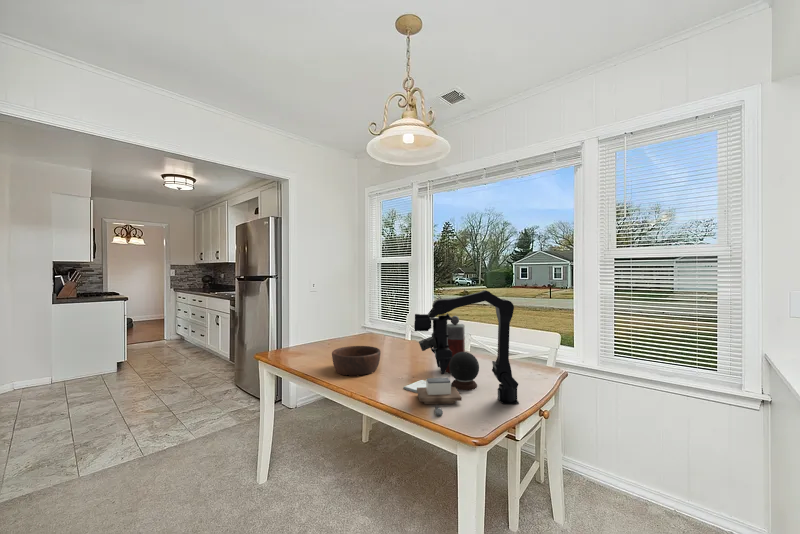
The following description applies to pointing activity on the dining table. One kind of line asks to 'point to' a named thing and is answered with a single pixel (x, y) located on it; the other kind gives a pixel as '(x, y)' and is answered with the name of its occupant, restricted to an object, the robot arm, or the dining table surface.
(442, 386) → the block
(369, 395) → the dining table surface
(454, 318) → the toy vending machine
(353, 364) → the wooden bowl
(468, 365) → the black orb on base
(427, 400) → the stand
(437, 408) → the bolt
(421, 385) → the external hard drive
